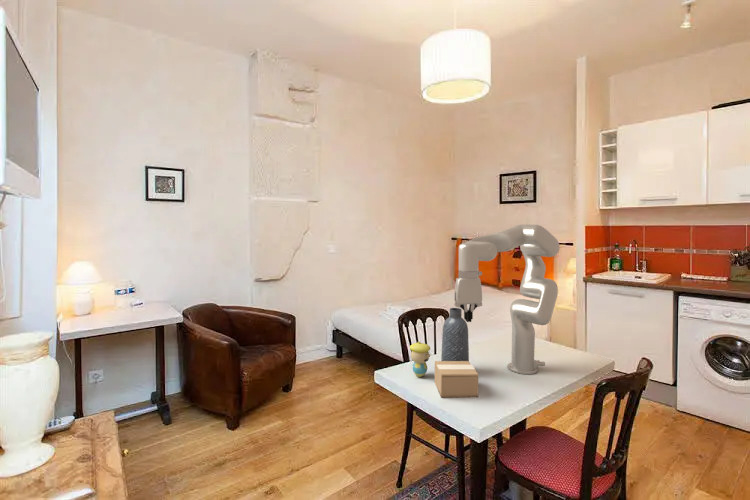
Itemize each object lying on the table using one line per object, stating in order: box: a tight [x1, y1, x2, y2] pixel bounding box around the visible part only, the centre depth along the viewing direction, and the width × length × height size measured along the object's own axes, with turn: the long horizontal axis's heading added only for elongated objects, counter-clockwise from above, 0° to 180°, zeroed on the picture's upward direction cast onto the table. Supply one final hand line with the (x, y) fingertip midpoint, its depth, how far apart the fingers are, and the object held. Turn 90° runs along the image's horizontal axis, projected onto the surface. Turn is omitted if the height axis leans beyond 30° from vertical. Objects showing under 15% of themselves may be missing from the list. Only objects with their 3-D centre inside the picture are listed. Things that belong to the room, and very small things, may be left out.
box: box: [434, 364, 479, 399], centre depth 155 cm, size 14×14×8 cm
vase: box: [440, 307, 470, 362], centre depth 172 cm, size 12×12×28 cm
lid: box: [434, 360, 479, 377], centre depth 154 cm, size 14×14×1 cm
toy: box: [409, 341, 431, 377], centre depth 168 cm, size 8×9×15 cm
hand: (468, 321), depth 154 cm, fingers closed
